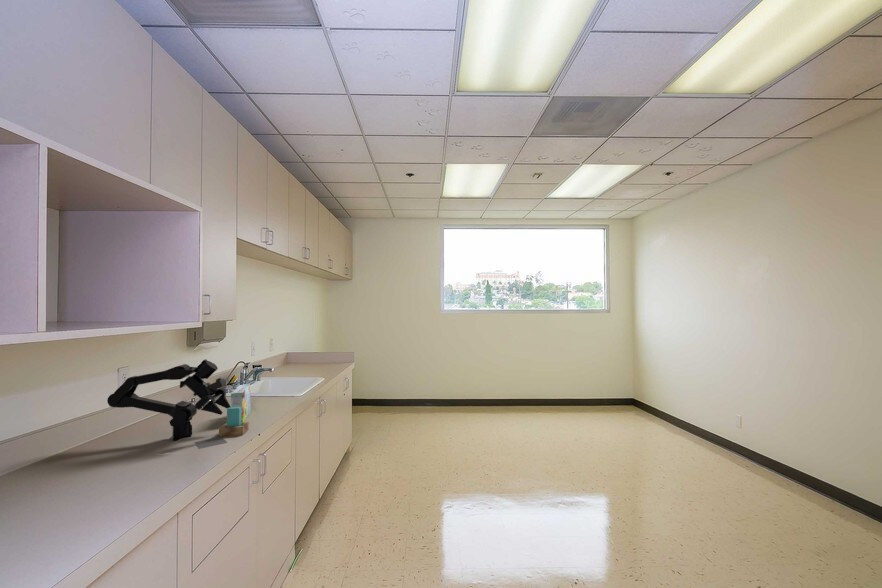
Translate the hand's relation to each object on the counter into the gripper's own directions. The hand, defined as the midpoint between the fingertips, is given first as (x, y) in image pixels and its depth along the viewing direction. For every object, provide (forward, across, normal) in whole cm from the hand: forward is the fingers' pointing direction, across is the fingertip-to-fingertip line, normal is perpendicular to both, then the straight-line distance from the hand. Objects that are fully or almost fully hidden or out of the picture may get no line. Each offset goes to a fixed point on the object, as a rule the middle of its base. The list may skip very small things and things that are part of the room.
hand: (226, 411), depth 168 cm
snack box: (+6, +27, +9) cm, 29 cm away
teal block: (+9, 0, +5) cm, 10 cm away
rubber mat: (+6, -11, +8) cm, 15 cm away
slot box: (+10, 0, +5) cm, 11 cm away
